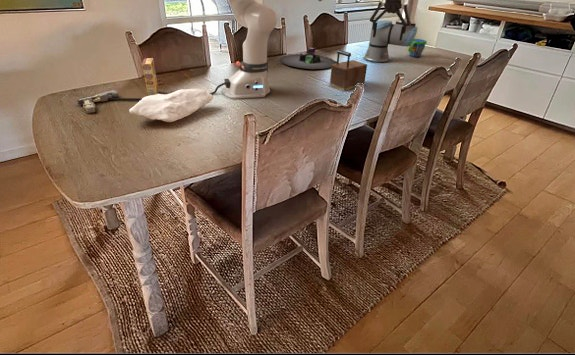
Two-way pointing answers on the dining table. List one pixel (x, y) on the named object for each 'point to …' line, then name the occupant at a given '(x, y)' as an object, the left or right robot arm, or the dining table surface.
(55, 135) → the dining table surface
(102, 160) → the dining table surface
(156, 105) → the crumpled cloth
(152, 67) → the candy box
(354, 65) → the lid
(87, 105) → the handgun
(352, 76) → the chest
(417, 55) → the snack cup
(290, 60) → the round grey tray
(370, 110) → the dining table surface
